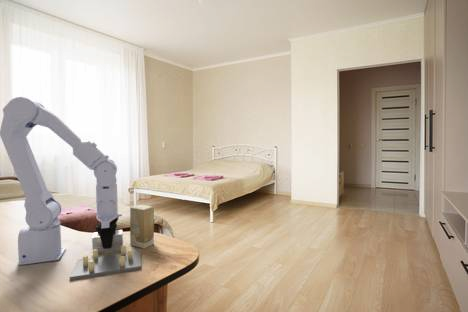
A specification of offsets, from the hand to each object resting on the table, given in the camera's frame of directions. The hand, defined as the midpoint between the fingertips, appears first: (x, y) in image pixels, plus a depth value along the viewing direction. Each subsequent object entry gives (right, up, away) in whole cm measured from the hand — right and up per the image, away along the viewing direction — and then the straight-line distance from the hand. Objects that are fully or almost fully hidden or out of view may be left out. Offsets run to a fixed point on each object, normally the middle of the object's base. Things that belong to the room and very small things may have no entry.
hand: (108, 244), depth 82 cm
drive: (0, -2, 0) cm, 2 cm away
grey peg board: (+5, -2, -11) cm, 12 cm away
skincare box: (+9, -1, +4) cm, 10 cm away
